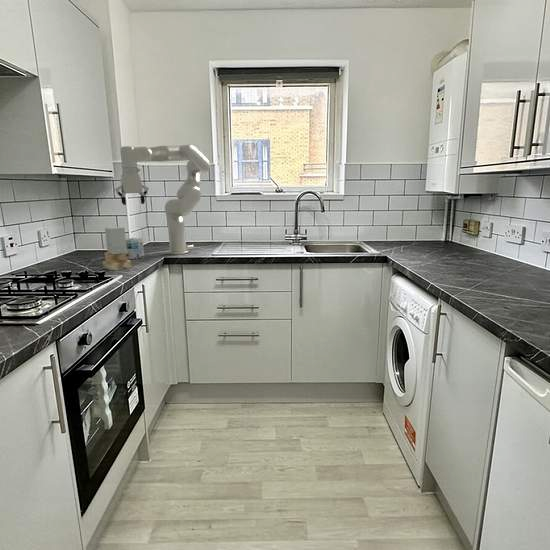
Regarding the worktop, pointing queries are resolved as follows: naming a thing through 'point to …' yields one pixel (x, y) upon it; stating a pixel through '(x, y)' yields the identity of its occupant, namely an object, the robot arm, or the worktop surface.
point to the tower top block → (115, 258)
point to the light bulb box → (134, 248)
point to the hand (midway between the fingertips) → (133, 204)
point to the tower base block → (117, 265)
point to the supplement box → (116, 240)
